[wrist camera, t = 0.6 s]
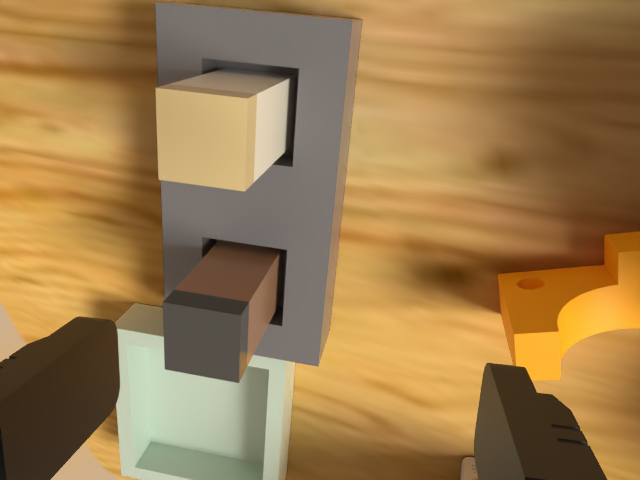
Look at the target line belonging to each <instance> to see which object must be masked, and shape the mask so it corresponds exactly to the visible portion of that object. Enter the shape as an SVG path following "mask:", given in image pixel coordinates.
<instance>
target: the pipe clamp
mask: <svg viewBox="0 0 640 480" xmlns="http://www.w3.org/2000/svg"><path fill="white" fill-rule="evenodd" d="M498 283H499V296H500V308H501V316H502V320H503V325H504V329H505V333H506V337H507V341H508V345H509V349H510V353H511V357H512V361H513V366H520V367H525V368H526V369H527V372H528V374H529V376H530V378H531V381H536V380H559V379H561V368H560V361H561V358H562V356H563V355H564V353H565V352H566V351H567V350H568V349H569V348H570V347H571V346H572V345H573V344H575V343H576V342H578V341H580V340H582V339H584V338H586V337H588V336H591V335H594V334H597V333H601V332H605V331H610V330H617V329H627V328H640V231H638V232H627V233H617V234H607V235H604V265H595V266H584V267H572V268H560V269H549V270H537V271H526V272H514V273H502V274H498Z"/></svg>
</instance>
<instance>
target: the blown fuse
mask: <svg viewBox="0 0 640 480" xmlns="http://www.w3.org/2000/svg"><path fill="white" fill-rule="evenodd" d="M284 255H285V249H278V248H271V247H265V246H258V245H252V244H245V243H238V242H232V241H225V240H219V241H218V242H217V243H216V244H215V245H214V246H213V247H212V249H211V250H210V251H209V252H208V253H207V254H206V255H205V256H204V257H203V258H202V260H201V261H200V262H199V263H198V264H197V265H196V266H195V267H194V268H193V269H192V271H191V272H190V273H189V274H188V275H187V276H186V277H185V278H184V279H183V280H182V282H181V283H180V284H179V285H178V286H177V287H176V288H175V289H174V290H173V291H172V293H171V294H170V295H169V296H168V297H167V298H166V299H165V300H164V301H163V331H164V361H165V370H170V371H176V372H181V373H187V374H192V375H197V376H203V377H208V378H214V379H219V380H224V381H230V382H235V383H239V382H240V380H241V378H242V376H243V374H244V372H245V370H246V368H247V366H248V364H249V362H250V360H251V358H252V356H253V354H254V352H255V350H256V348H257V346H258V344H259V342H260V341H261V339H262V337H263V335H264V333H265V331H266V329H267V327H268V325H269V323H270V321H271V319H272V317H273V315H274V313H275V311H276V309H277V307H278V305H279V303H280V301H281V299H282V286H283V271H284Z"/></svg>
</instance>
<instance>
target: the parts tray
mask: <svg viewBox="0 0 640 480" xmlns="http://www.w3.org/2000/svg"><path fill="white" fill-rule="evenodd" d="M115 324H116V327H117V332H118V350H119V371H120V392H119V397H118V400H117V403H116V409H117V422H118V435H119V448H120V461H121V474H122V476H127V477H131V478H136V479H141V480H285V477H286V474H287V463H288V450H289V438H290V425H291V412H292V400H293V387H294V374H295V362H290V361H285V360H279V359H273V358H268V357H262V356H257V355H253V356H252V358H251V360H250V362H249V364H248V366H247V368H246V370H245V372H244V374H243V376H242V378H241V380H240V382H239V383H235V382H230V381H224V380H219V379H214V378H208V377H203V376H197V375H192V374H187V373H181V372H176V371H170V370H165V361H164V331H163V308H162V307H156V306H150V305H144V304H139V303H134V304H133V305H132V306H131V307H130V308H129V309H128V310H127V311H126V312H125V313H124V314H123V315H122V316H121V317H120V318H119V319H118V320H117V321H116V322H115Z"/></svg>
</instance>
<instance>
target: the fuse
mask: <svg viewBox="0 0 640 480" xmlns="http://www.w3.org/2000/svg"><path fill="white" fill-rule="evenodd" d="M295 82H296V75H290V74H281V73H272V72H262V71H253V70H244V69H235V68H224V69H221V70H217V71H214V72H210V73H207V74H203V75H199V76H196V77H192V78H189V79H185V80H182V81H178V82H175V83H171V84H167V85H164V86H160V87H157V88H155V89H156V119H157V149H158V180H165V181H172V182H179V183H187V184H194V185H201V186H208V187H216V188H223V189H230V190H237V191H246V190H247V189H248V188H249V187H250V186H251V185H252V184H253V183H254V182H255V181H256V180H257V179H258V178H259V177H260V176H261V175H262V174H263V173H264V172H265V171H266V170H267V169H268V168H269V167H270V166H271V165H272V164H273V163H274V162H275V161H276V160H277V159H278V158H279V157H280V156H281V155H282V154H283V153H284V152H285V151H286V150H287V149H288V148H289V147H290V146H291V145H292V129H293V114H294V98H295Z"/></svg>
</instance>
